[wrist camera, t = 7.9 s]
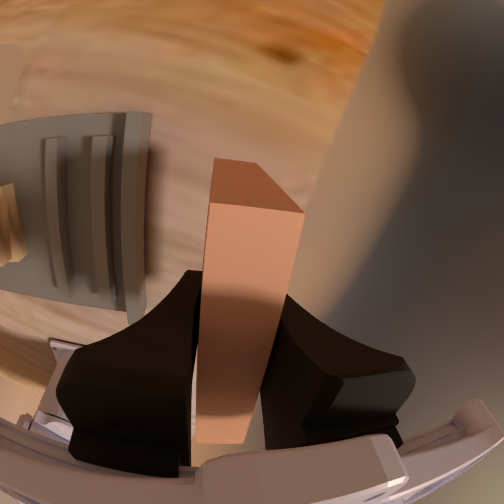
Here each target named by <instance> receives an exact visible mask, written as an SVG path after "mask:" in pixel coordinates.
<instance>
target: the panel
mask: <svg viewBox="0 0 504 504" xmlns="http://www.w3.org/2000/svg"><path fill="white" fill-rule="evenodd" d="M304 218H305V213H304V212H303V211H302V210H301V209H300V208H299V206H298V205H297V204H296V203H295V202H294V201H293V200H292V199H291V198H290V197H289V196H288V195H287V194H286V193H285V192H284V191H283V190H282V189H281V188H280V187H279V186H278V185H277V184H276V183H275V182H274V181H273V180H272V178H271V177H270V176H269V175H268V174H267V173H266V172H265V171H264V170H263V169H262V168H261V167H260V166H259V165H257V164H256V163H251V162H244V161H236V160H228V159H219V158H214V165H213V173H212V181H211V189H210V198H209V206H208V216H207V225H206V235H205V246H204V257H203V269H202V271H203V274H202V288H201V302H200V318H199V335H198V349H197V378H196V443H212V444H243V442H244V438H245V436H246V432H247V429H248V426H249V423H250V420H251V417H252V414H253V410H254V407H255V404H256V401H257V397H258V394H259V391H260V387H261V384H262V381H263V377H264V374H265V370H266V367H267V363H268V360H269V356H270V353H271V349H272V346H273V342H274V339H275V335H276V331H277V328H278V324H279V320H280V316H281V313H282V309H283V305H284V301H285V297H286V293H287V289H288V285H289V281H290V277H291V273H292V269H293V265H294V261H295V257H296V252H297V248H298V244H299V240H300V235H301V231H302V226H303V222H304Z"/></svg>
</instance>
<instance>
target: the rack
mask: <svg viewBox="0 0 504 504" xmlns="http://www.w3.org/2000/svg"><path fill="white" fill-rule="evenodd" d="M151 120H152V113H147V112H127V113H97V114H79V115H67V116H56V117H47V118H39V119H32V120H26V121H19V122H13V123H8V124H3V125H0V186H3V185H7V184H11V183H13V185H14V192H15V198H16V204H17V209H18V214H19V219H20V224H21V228H22V232H23V237H24V241H25V245H26V248H27V252H28V254H27V255H26V256H25V257H24V258H23V259H21V260H20V261H19V262H7V263H6V264H5V265H4V266H3V267H1V266H0V289H1V290H6V291H10V292H14V293H19V294H24V295H28V296H33V297H38V298H43V299H48V300H54V301H59V302H65V303H70V304H76V305H83V306H89V307H95V308H102V309H109V310H116V311H124V312H127V319H128V324H131V325H132V324H133V323H135V322H137V321H138V320H140V319H141V318H143V316H144V313H145V309H146V292H145V265H144V216H145V189H146V172H147V159H148V147H149V137H150V128H151Z"/></svg>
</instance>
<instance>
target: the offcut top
mask: <svg viewBox="0 0 504 504" xmlns="http://www.w3.org/2000/svg"><path fill="white" fill-rule="evenodd" d="M11 259H12V254H11V245H10V235H9V221H8V195H6V194H0V266H1V267H3V266H4V265H5V264H6V263H7V262H8V261H10V260H11Z"/></svg>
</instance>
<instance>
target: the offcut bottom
mask: <svg viewBox="0 0 504 504" xmlns="http://www.w3.org/2000/svg"><path fill="white" fill-rule="evenodd" d="M0 194H6V195H8V221H9V235H10V245H11V254H12V259H11V260H10V261H8V262H19V261H20V260H21V259H23V258H24V257H25V256H26V255H27V254H28V252H27V248H26V245H25V241H24V237H23V232H22V228H21V224H20V219H19V214H18V209H17V204H16V198H15V192H14V185H13V183H11V184H7V185H3V186H0Z"/></svg>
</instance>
